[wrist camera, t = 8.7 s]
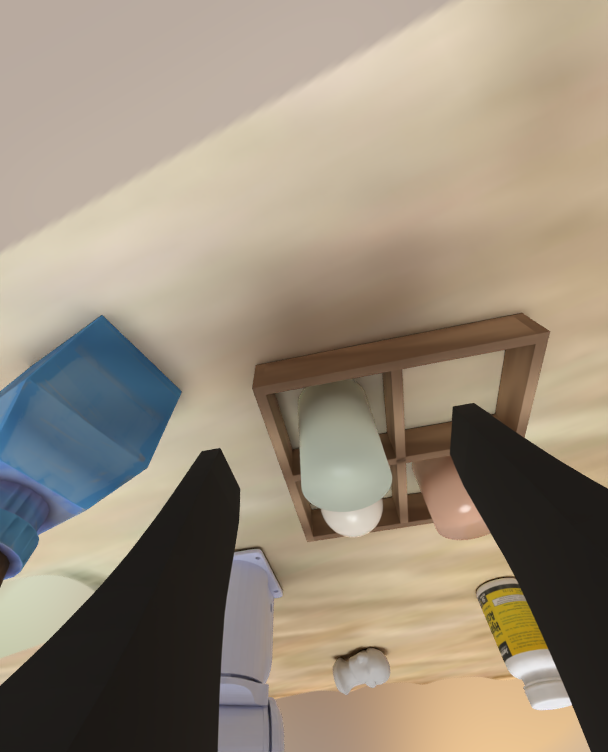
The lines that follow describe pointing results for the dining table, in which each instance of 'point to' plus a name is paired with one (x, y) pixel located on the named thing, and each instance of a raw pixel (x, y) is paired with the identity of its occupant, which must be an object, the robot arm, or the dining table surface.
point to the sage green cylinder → (340, 448)
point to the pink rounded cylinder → (448, 499)
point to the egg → (354, 520)
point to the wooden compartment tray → (401, 445)
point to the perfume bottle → (75, 434)
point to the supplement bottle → (522, 643)
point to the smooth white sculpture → (361, 670)
